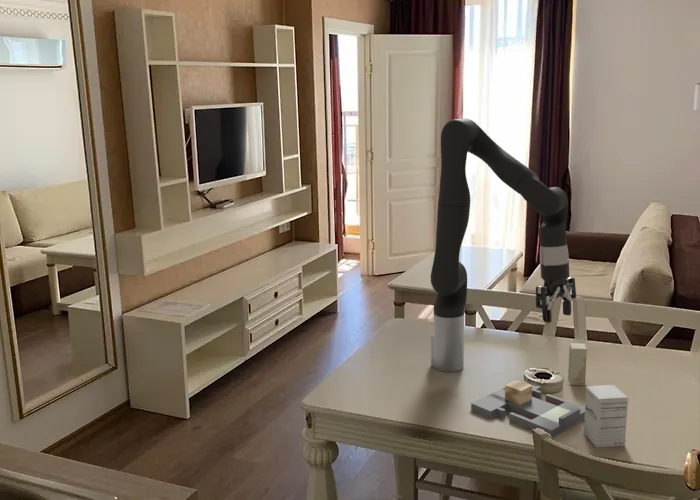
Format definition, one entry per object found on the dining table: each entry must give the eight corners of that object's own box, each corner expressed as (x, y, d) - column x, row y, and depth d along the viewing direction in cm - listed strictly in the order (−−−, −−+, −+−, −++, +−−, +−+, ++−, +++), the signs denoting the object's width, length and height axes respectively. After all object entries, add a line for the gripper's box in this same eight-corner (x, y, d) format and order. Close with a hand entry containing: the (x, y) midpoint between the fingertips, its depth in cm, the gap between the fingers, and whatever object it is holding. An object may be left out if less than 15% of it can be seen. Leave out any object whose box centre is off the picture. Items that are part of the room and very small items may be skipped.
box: (585, 386, 197) (587, 349, 195) (569, 385, 198) (571, 348, 195) (583, 378, 202) (584, 343, 200) (567, 377, 203) (569, 342, 200)
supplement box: (582, 433, 170) (585, 385, 168) (611, 431, 171) (614, 383, 168) (595, 448, 163) (598, 398, 160) (625, 446, 164) (629, 396, 161)
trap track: (471, 410, 184) (471, 398, 183) (521, 386, 198) (521, 375, 197) (545, 441, 167) (545, 428, 166) (594, 413, 181) (595, 400, 180)
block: (504, 399, 186) (505, 385, 185) (516, 393, 189) (516, 379, 188) (520, 405, 182) (520, 390, 181) (531, 399, 185) (532, 385, 184)
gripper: (559, 255, 196) (562, 310, 198) (526, 264, 188) (529, 322, 190) (582, 257, 190) (584, 314, 192) (548, 267, 181) (552, 327, 184)
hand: (557, 318), depth 191 cm, fingers open, 8 cm apart
